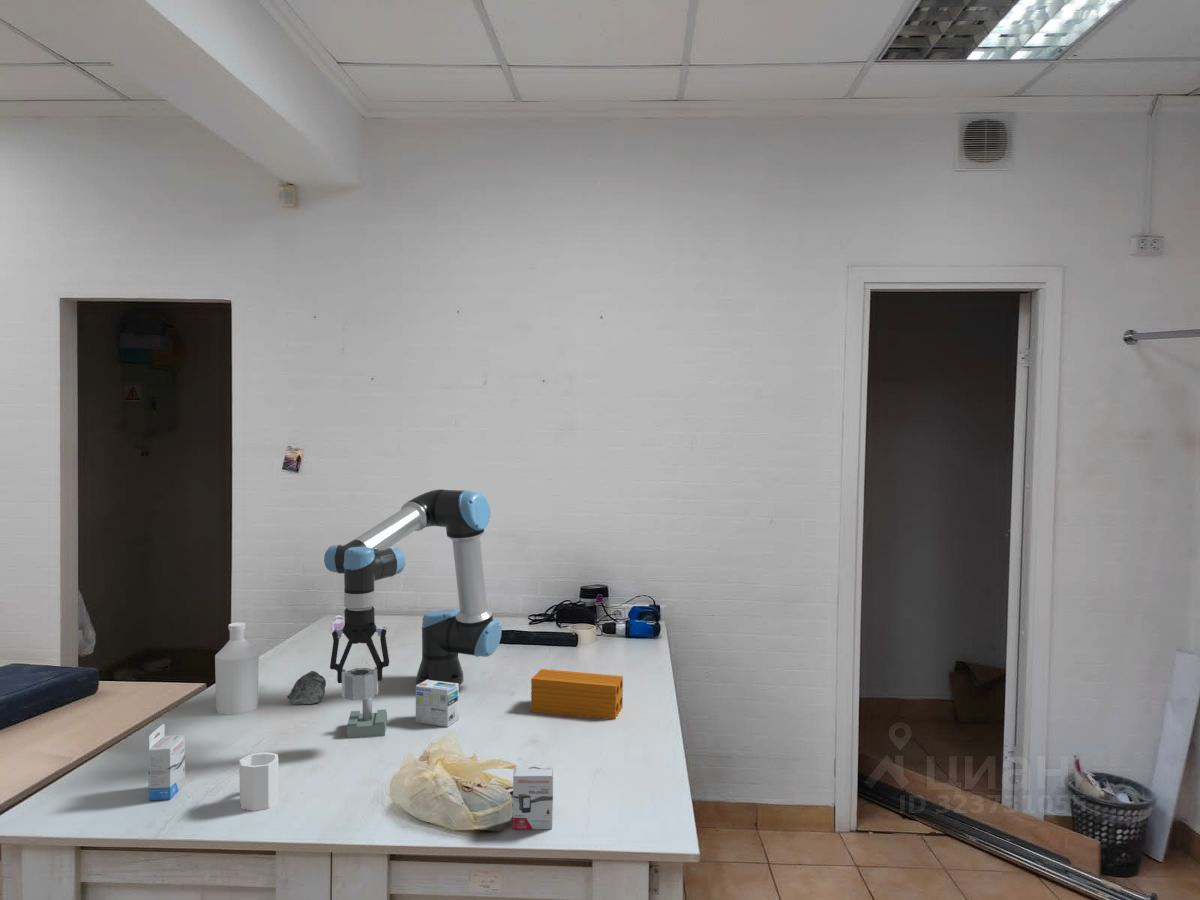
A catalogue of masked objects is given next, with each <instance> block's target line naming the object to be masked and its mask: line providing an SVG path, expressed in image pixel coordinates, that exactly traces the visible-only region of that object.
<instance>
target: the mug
mask: <svg viewBox="0 0 1200 900" xmlns="http://www.w3.org/2000/svg"><path fill="white" fill-rule="evenodd" d="M238 761H239V765H238V767H239V805H240V804H241V806H240V808H242V809H241V810H244V809H247V810H246V811H249V810H251V811H250V812H258V810H259V811H265V810H269V809H271V808H273V807H274V806H276V805H278V804H279V800H280V799H279V797H280V795H279V783H280V782H279V781H280V779H279V775H280V774H279V769H280V768H279V754H278V753H274V752H268V751H266V752H257V753H252V754H251V753H250V754H249V755H246V756H245V757H243V758H240V759H239V760H238ZM264 809H265V810H264ZM256 810H257V811H256Z"/></svg>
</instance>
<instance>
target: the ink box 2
mask: <svg viewBox="0 0 1200 900" xmlns="http://www.w3.org/2000/svg"><path fill="white" fill-rule="evenodd" d="M512 774H513V777H512V778H513V779H512V780H513V781H512V785H513V786H512V830H514V831H515V830H552V829H553V819H554V817H553V815H554V813H553V811H554V767H553V766H552V765H516V766H514V767H513V773H512Z"/></svg>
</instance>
